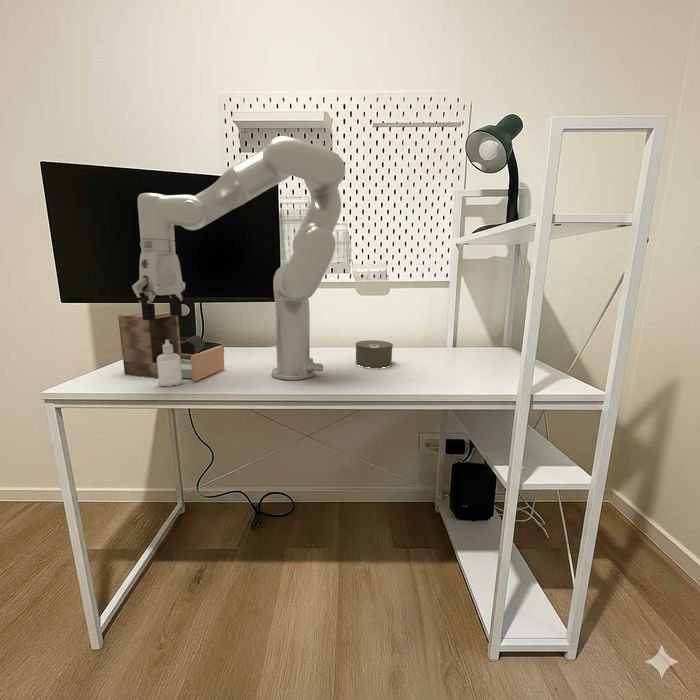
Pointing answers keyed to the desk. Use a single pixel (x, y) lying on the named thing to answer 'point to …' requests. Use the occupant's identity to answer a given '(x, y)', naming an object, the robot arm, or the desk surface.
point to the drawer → (203, 364)
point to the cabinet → (147, 341)
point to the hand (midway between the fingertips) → (163, 317)
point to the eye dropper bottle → (169, 366)
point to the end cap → (191, 344)
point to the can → (374, 353)
